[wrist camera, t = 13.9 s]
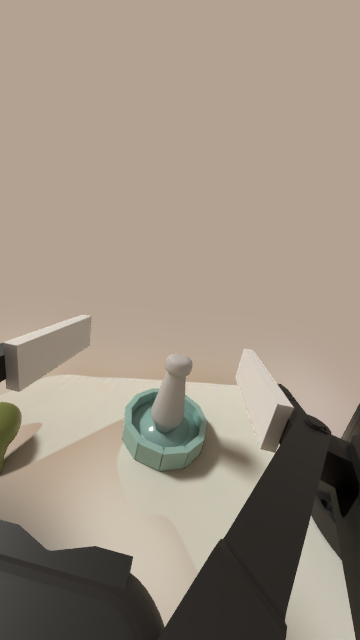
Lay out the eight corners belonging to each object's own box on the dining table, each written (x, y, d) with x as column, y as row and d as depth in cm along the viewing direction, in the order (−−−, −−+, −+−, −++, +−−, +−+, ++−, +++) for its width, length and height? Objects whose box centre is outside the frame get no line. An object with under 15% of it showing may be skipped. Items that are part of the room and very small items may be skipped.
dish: (217, 438, 33) (221, 424, 32) (156, 493, 23) (160, 475, 22) (167, 393, 42) (170, 381, 41) (108, 418, 32) (110, 404, 31)
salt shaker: (182, 415, 35) (198, 354, 32) (179, 441, 29) (199, 370, 26) (152, 408, 35) (165, 346, 32) (144, 432, 30) (159, 361, 26)
